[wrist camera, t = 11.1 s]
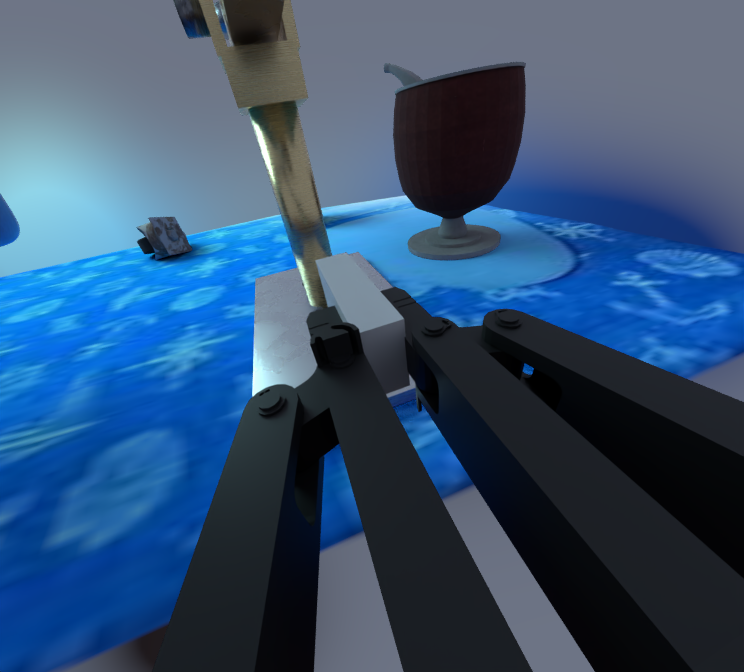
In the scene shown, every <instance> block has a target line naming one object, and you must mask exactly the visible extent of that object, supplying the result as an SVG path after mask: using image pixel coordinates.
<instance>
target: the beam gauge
mask: <svg viewBox="0 0 744 672" xmlns="http://www.w3.org/2000/svg"><path fill="white" fill-rule="evenodd" d="M283 6H284V0H219V1H218V2H216V3H215V4H214V7H215V10H216V13H217V16H218V19H219V22H220V25H221V29H222V32H223V35H224V38H225V39H227V40H229V41H230V44H231V47H232V46H241V45H250V44H259V43H268V42H278V36H279V30H280V24H281V18H282V12H283ZM249 116H250V115H249ZM250 119H251V117H250ZM251 123H252V121H251ZM252 126H253V124H252ZM253 129H254V127H253ZM254 132H255V130H254ZM255 135H256V133H255ZM256 138H257V136H256ZM257 141H258V139H257ZM258 145H259V143H258ZM259 148H260V146H259ZM260 151H261V149H260ZM261 154H262V152H261ZM262 157H263V155H262ZM263 160H264V158H263ZM264 163H265V161H264ZM265 167H266V165H265ZM266 170H267V168H266ZM267 173H268V171H267ZM268 176H269V174H268ZM269 179H270V177H269ZM270 182H271V180H270ZM271 185H272V184H271ZM272 188H273V187H272ZM273 192H274V190H273ZM274 195H275V193H274ZM275 198H276V196H275ZM276 201H277V199H276ZM277 204H278V202H277ZM278 207H279V206H278ZM279 210H280V209H279ZM280 214H281V212H280ZM281 217H282V215H281ZM282 220H283V218H282ZM283 223H284V221H283ZM284 226H285V224H284ZM285 229H286V228H285ZM286 232H287V231H286ZM287 236H288V234H287ZM288 239H289V237H288ZM289 242H290V240H289ZM290 245H291V243H290ZM291 248H292V246H291ZM292 251H293V250H292ZM293 254H294V253H293ZM349 256H350V257H351V258H352V259H353V260H354V262H355V263H356V264H357V265H358V266H359V267H360V269H361V270H362V271H363V272H364V273H365V274H366V275H367V277H368V278H369V279H370V280H371V281H372V282H373V283H374V285H375V286H376V287H377V288H378V289H379V290H380V291H382V290H386V289H389V288H393V287H392V286H391V285H390V284H389V283H388V282H387V281H386V280H385V279H384V278H383V277H382V276H381V275H380V274H379V273H378V272H377V271H376V270H375V269H374V268H373V267H372V266H371V265H370V264H369V263H368V262H367V261H366V260H365V258H364V257H363V256H362V255H361V254H360V253H359V252H356V253H352V254H349ZM294 257H295V256H294ZM295 261H296V259H295ZM296 264H297V262H296ZM297 267H298V265H297ZM321 309H323V308H322V307H315V306H312V305H311V304H310V303H309V300H308V297H307V294H306V291H305V287H304V284H303V281H302V278H301V275H300V272H299V268H295V269H291V270H287V271H283V272H280V273H276V274H272V275H268V276H264V277H260V278H257V279H256V283H255V321H254V359H253V396H254V395H255V394H256V393H257V392H259V391H261V390H263V389H264V388H266V387H269V386H272V385H276V384H287V385H289V386H292V387H293V388H296V387H297V386H299V385H300V384H302V383H303V382H305V381H306V380H308V379H309V378H310V377H311V376H312V375H313V373H314V372H315V370H316V367H317V363H316V360H315V357H314V354H313V351H312V349H311V346H310V338H311V337H310V333H309V329H308V326H307V322H306V320H307V318H308V315H309V313H310V312H314V311H317V310H321ZM409 379H410V386H407V387H404V388H402V389H399V390H396V391H393V392H391V393H388V394H386V395H387V397H388V399H389V401H390V403H391V405H392V407H395V406H397V405H400V404H403V403H405V402H408V401H411V400H413V399H416V387H415V382H414V380H413V379H412V377H411V376H410V374H409Z"/></svg>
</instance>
